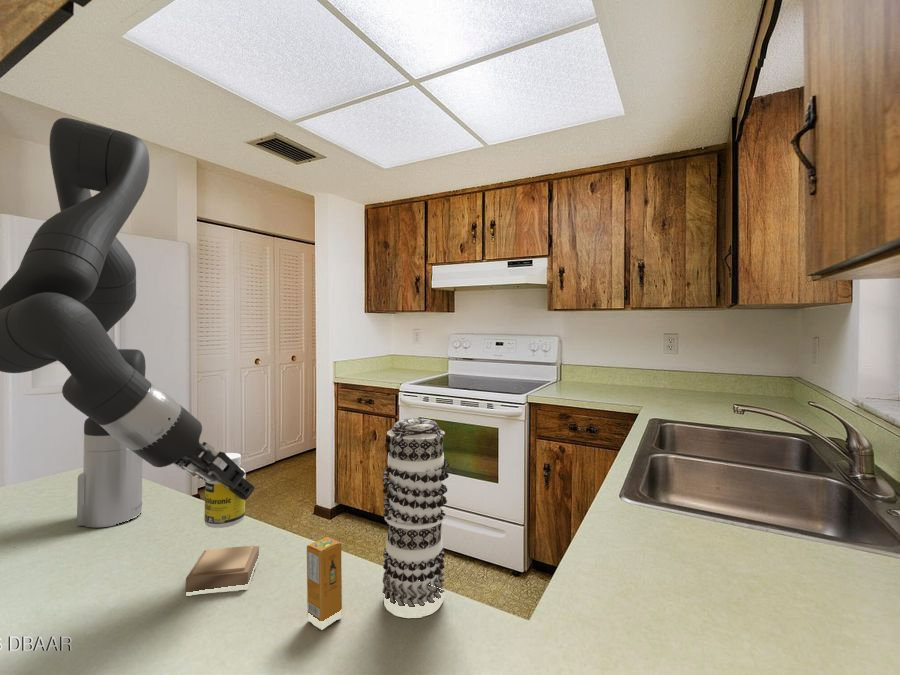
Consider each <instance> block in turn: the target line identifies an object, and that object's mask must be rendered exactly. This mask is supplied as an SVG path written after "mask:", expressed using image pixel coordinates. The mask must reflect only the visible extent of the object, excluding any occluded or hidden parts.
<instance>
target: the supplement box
mask: <svg viewBox="0 0 900 675" xmlns="http://www.w3.org/2000/svg"><path fill="white" fill-rule="evenodd" d="M342 570H343V568H342V542H340V541H337V540H336V539H333V538H330V537H328V536H325V537H324V538H321V539H318V540H316V541H315V542H312V543H310V544H307V545H306V590H307V592H306V594H307V596H306V597H307V599H306V600H307V603H306V604H307V614H308V613H310V614H311V615H313V617H315V618H317V619H318V620H319V621H324V620H325V619H327V618H329V617H330V616H332V615H334V614H335V613H337V612H339V611H340V610H341V609H342V610H343V604H342V603H343V599H342V598H343V594H342V588H343V586H342V585H343V584H342V583H343V581H342V580H343V579H342V577H343V576H342Z"/></svg>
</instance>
